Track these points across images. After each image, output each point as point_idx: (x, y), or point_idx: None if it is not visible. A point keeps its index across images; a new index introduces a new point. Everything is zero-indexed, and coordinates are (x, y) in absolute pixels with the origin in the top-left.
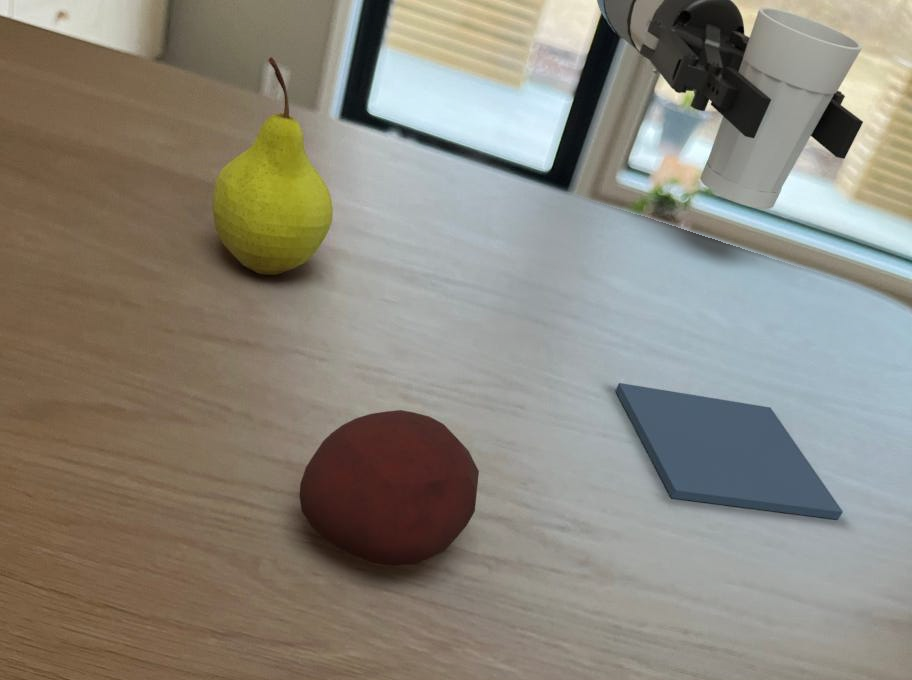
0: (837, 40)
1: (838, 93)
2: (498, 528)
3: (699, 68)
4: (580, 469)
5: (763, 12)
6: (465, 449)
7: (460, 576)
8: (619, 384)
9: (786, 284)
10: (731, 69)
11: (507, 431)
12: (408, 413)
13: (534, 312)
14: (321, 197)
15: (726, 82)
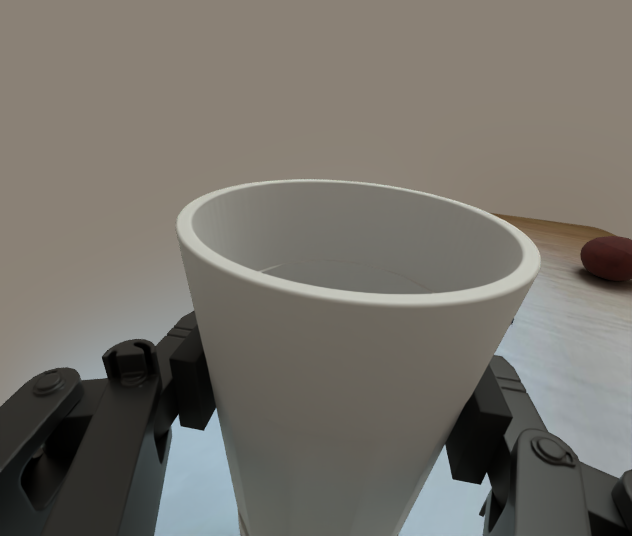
0: (197, 235)
1: (64, 375)
2: (561, 276)
3: (594, 469)
4: (530, 290)
5: (526, 246)
6: (598, 245)
7: (569, 267)
8: (513, 318)
9: (212, 477)
10: (495, 400)
11: (572, 306)
12: (627, 245)
13: (588, 393)
14: None
15: (499, 385)
